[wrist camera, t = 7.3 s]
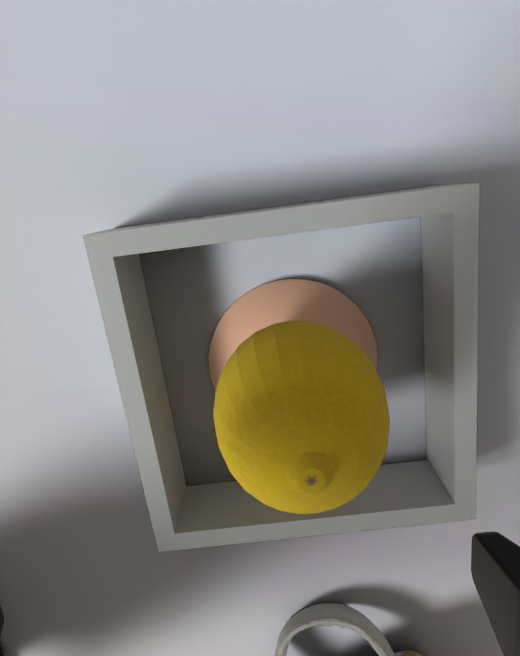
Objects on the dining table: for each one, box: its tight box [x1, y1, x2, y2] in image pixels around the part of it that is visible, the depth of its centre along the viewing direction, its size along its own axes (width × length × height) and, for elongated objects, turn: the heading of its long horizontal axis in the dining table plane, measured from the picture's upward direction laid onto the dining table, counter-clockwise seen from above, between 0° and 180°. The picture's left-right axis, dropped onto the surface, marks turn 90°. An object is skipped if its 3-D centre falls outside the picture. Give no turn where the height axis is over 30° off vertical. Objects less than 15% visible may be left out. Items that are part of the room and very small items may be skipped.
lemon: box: [213, 320, 390, 514], centre depth 15 cm, size 6×6×8 cm
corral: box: [83, 183, 480, 552], centre depth 17 cm, size 13×13×3 cm
